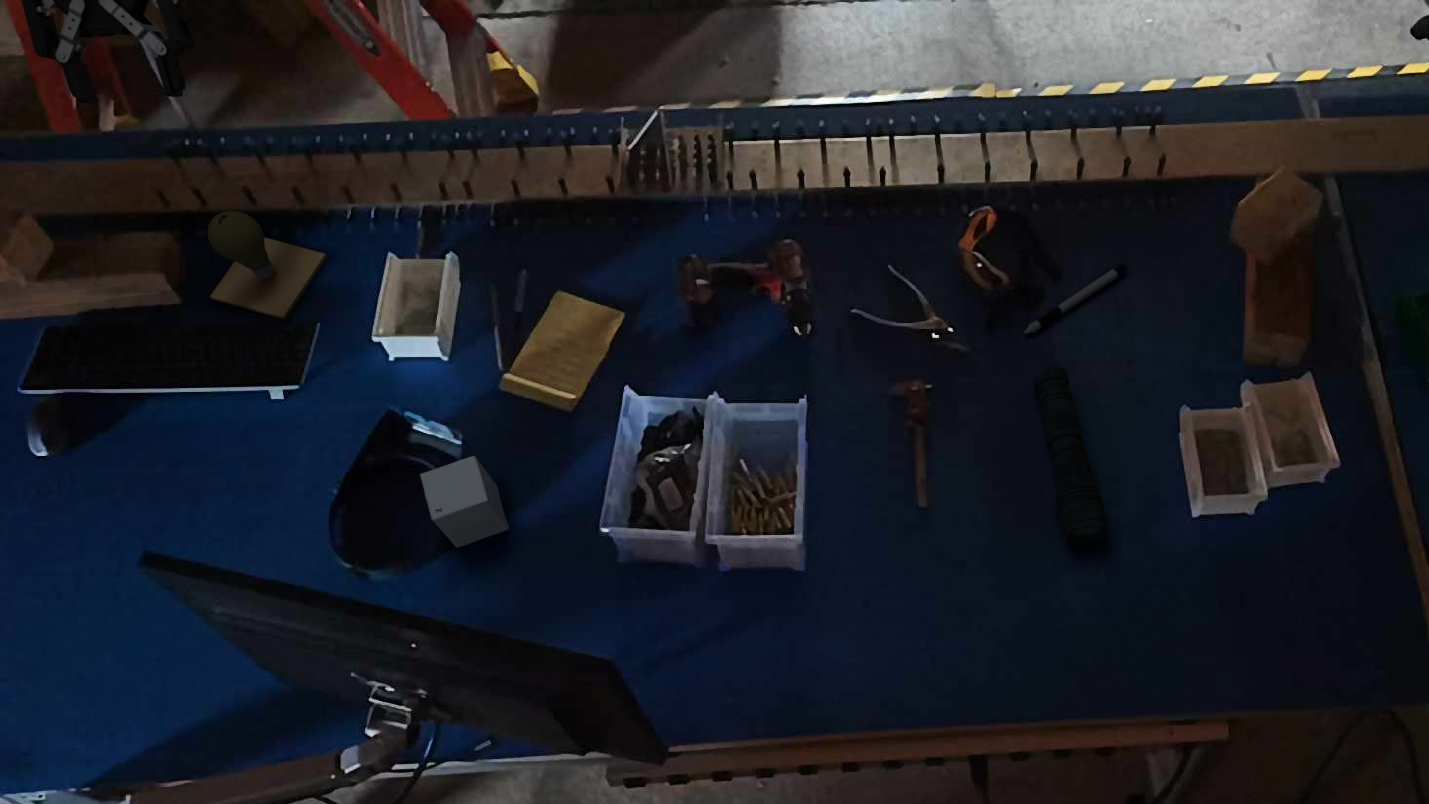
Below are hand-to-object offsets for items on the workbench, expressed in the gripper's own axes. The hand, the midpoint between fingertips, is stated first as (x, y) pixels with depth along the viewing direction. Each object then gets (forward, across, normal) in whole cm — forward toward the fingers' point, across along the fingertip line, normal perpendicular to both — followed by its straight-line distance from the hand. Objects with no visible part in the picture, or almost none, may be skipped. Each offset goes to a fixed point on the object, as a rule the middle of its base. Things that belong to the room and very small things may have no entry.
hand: (132, 99), depth 116 cm
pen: (+31, +99, +7) cm, 104 cm away
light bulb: (+20, +1, +17) cm, 26 cm away
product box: (+46, +27, -8) cm, 54 cm away
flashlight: (+47, +94, -9) cm, 105 cm away
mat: (+20, +1, +17) cm, 27 cm away
